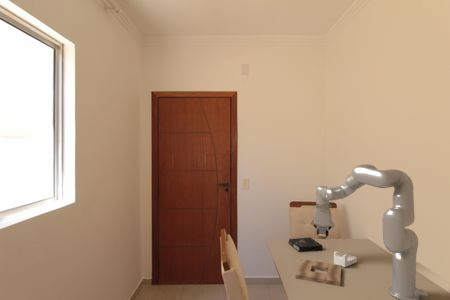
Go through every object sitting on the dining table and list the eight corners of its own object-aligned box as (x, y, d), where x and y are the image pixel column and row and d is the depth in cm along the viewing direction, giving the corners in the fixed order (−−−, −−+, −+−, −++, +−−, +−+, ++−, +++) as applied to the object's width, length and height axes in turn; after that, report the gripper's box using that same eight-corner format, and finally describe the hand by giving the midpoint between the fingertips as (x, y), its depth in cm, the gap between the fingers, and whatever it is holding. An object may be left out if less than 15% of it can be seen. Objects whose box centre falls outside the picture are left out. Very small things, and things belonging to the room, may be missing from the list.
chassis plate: (341, 268, 165) (341, 265, 165) (340, 286, 145) (340, 282, 145) (302, 262, 174) (302, 259, 174) (295, 278, 154) (295, 274, 154)
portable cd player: (288, 244, 206) (288, 239, 206) (310, 242, 209) (310, 237, 209) (298, 253, 190) (298, 247, 190) (322, 251, 193) (322, 245, 193)
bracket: (344, 268, 166) (344, 255, 165) (333, 264, 171) (333, 252, 171) (357, 263, 173) (357, 251, 173) (346, 259, 179) (346, 247, 179)
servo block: (326, 235, 179) (326, 225, 179) (325, 240, 170) (325, 230, 170) (319, 234, 181) (319, 225, 181) (318, 239, 172) (318, 229, 171)
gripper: (337, 206, 175) (337, 236, 175) (309, 204, 182) (309, 233, 182) (337, 208, 168) (337, 239, 169) (307, 206, 175) (307, 236, 175)
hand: (322, 235), depth 175 cm, fingers closed on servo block, 4 cm apart
